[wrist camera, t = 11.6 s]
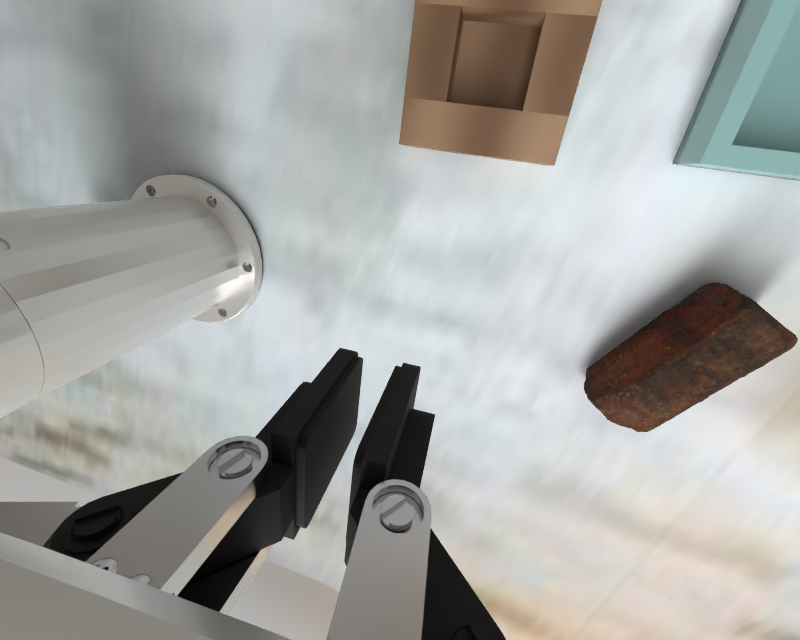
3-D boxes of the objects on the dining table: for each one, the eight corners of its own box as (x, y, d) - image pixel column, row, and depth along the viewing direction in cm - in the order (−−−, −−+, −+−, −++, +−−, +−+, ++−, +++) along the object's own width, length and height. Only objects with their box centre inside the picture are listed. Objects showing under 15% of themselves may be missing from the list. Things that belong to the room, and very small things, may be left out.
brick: (707, 274, 23) (756, 298, 19) (750, 312, 23) (807, 344, 19) (576, 373, 28) (591, 410, 23) (612, 403, 28) (634, 445, 24)
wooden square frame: (409, 146, 24) (399, 143, 21) (431, -30, 20) (422, -61, 17) (546, 165, 22) (554, 165, 20) (598, -20, 18) (617, -52, 16)
